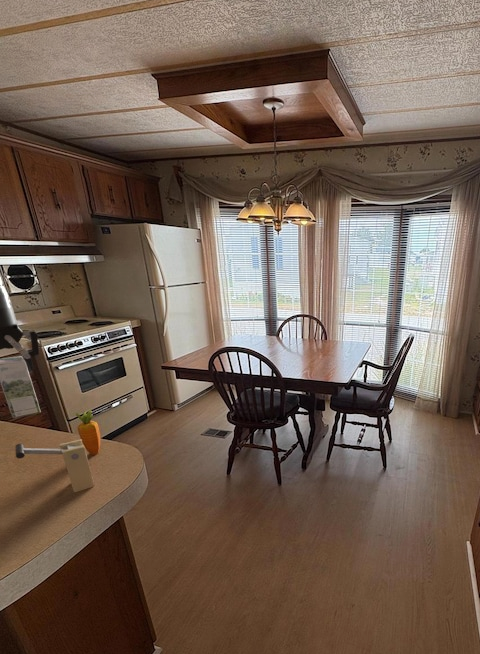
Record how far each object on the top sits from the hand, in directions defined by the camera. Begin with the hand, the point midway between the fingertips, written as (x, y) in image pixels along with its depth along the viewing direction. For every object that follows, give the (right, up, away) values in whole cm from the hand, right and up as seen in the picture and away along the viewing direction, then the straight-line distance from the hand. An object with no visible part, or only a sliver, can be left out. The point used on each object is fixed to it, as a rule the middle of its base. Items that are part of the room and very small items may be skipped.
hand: (13, 374), depth 85 cm
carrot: (+10, -24, +17) cm, 30 cm away
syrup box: (0, -10, +4) cm, 11 cm away
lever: (+13, -20, -5) cm, 24 cm away
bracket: (+16, -29, +3) cm, 34 cm away
